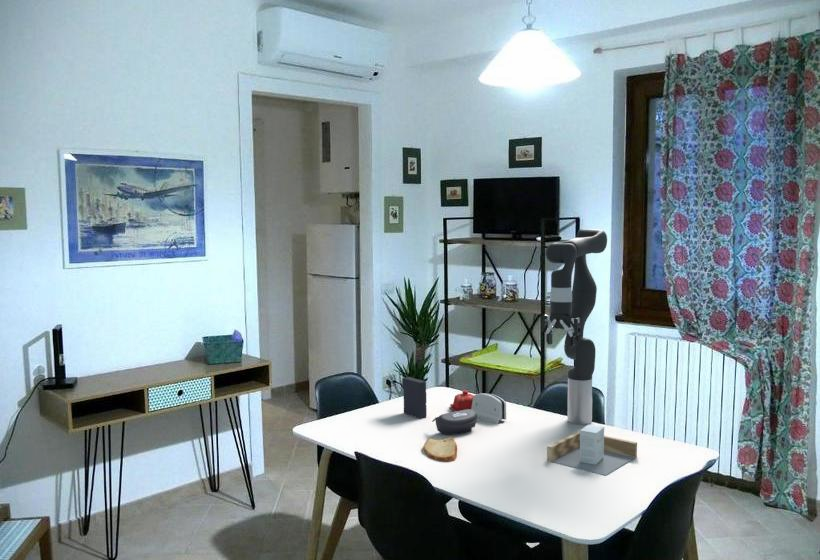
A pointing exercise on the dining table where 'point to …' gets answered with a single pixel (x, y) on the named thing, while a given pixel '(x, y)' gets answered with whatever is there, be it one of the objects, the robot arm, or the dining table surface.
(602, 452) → the small box
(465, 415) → the glasses case
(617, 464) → the mat
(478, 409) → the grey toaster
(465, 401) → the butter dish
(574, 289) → the robot arm
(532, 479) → the dining table surface
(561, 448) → the corner walls
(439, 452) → the slice of bread
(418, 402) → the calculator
